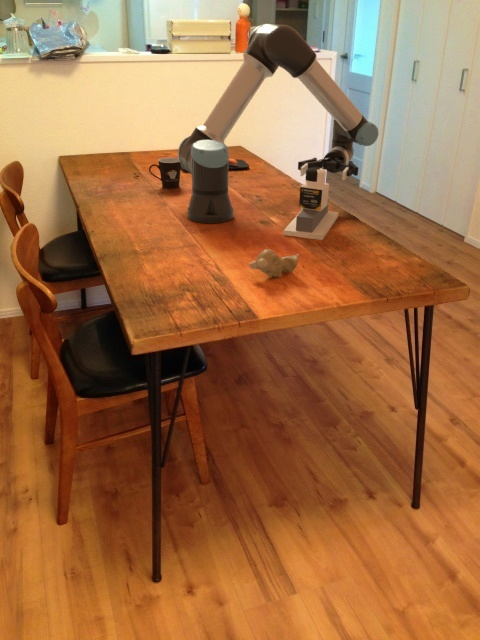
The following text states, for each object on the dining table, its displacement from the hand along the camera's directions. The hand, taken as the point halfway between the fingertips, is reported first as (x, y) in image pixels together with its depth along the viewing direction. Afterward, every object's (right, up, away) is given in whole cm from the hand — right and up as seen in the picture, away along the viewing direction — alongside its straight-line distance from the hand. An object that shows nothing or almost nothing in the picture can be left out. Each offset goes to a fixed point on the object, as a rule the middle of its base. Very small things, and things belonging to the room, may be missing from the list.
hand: (322, 174), depth 190 cm
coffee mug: (-54, +4, +37) cm, 66 cm away
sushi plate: (-40, +22, +71) cm, 84 cm away
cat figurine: (-18, -35, -37) cm, 54 cm away
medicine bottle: (-3, -12, -4) cm, 13 cm away
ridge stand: (-3, -17, -1) cm, 17 cm away
